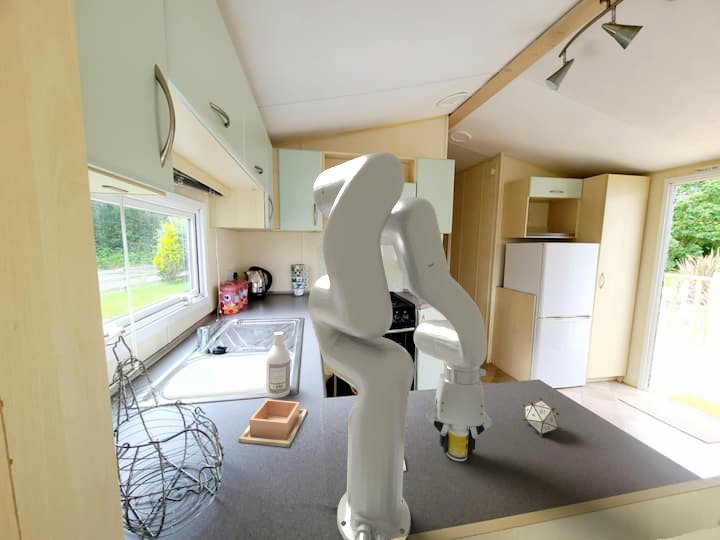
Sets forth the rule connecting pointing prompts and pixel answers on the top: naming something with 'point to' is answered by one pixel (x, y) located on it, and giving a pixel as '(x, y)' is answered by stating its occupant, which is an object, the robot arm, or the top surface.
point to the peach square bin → (274, 427)
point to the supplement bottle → (458, 442)
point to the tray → (274, 441)
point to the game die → (541, 417)
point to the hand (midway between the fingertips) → (456, 449)
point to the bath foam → (278, 368)
